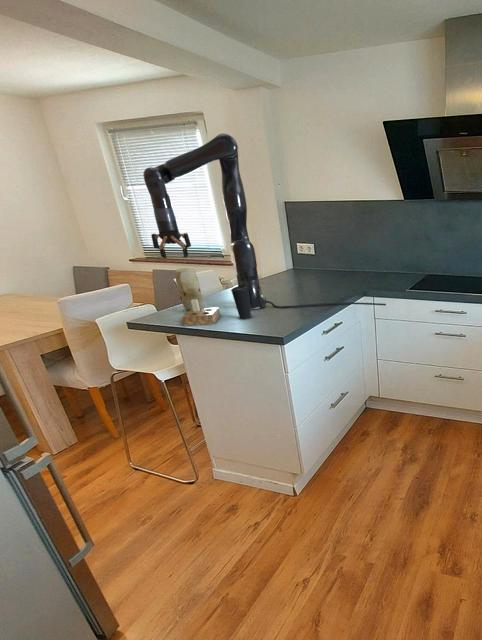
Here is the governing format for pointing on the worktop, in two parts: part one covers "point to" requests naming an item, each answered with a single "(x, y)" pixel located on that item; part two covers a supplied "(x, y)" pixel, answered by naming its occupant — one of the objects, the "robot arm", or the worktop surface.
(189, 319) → the peg block
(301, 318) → the worktop surface
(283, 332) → the worktop surface
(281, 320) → the worktop surface
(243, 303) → the drinking cup
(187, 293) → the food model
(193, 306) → the peg
